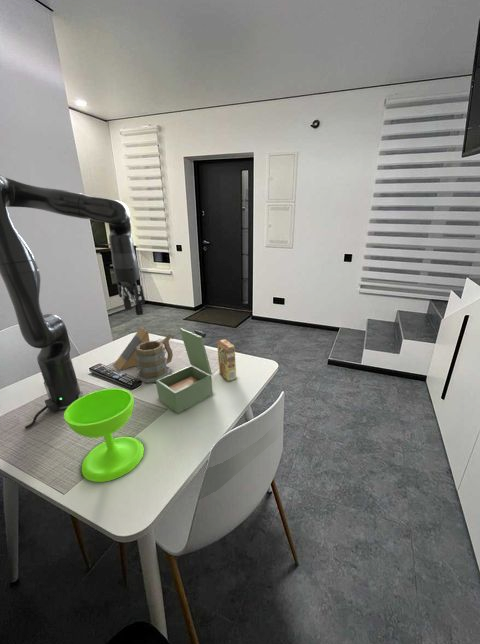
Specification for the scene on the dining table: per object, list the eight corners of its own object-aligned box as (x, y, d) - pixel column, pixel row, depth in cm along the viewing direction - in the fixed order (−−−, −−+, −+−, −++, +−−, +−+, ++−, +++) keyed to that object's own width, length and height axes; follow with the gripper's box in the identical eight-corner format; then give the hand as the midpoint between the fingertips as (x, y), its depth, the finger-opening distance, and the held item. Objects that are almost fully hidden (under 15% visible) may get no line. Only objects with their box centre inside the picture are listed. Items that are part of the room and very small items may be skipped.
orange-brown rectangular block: (178, 404, 103) (176, 392, 101) (169, 398, 106) (168, 386, 104) (200, 392, 110) (199, 381, 108) (192, 387, 113) (191, 376, 111)
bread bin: (177, 413, 99) (174, 393, 96) (158, 399, 107) (155, 380, 104) (212, 394, 110) (211, 375, 107) (193, 382, 118) (191, 365, 115)
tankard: (151, 385, 116) (146, 352, 110) (132, 377, 122) (125, 345, 116) (187, 365, 131) (184, 335, 126) (168, 359, 138) (164, 330, 132)
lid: (200, 337, 98) (211, 331, 101) (179, 328, 106) (190, 323, 109) (210, 375, 106) (220, 368, 110) (190, 364, 114) (200, 358, 117)
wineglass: (115, 432, 90) (103, 383, 84) (156, 446, 85) (146, 395, 78) (67, 471, 77) (48, 416, 70) (112, 490, 71) (96, 432, 65)
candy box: (236, 378, 121) (235, 345, 115) (227, 381, 119) (226, 348, 113) (227, 370, 128) (225, 338, 122) (218, 372, 125) (216, 340, 120)
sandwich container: (113, 364, 133) (106, 334, 128) (146, 354, 143) (141, 326, 137) (119, 370, 127) (112, 339, 122) (152, 360, 137) (148, 331, 131)
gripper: (105, 265, 97) (114, 310, 103) (124, 269, 88) (133, 319, 94) (127, 262, 102) (134, 306, 108) (146, 266, 94) (154, 313, 100)
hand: (134, 312), depth 101 cm, fingers open, 8 cm apart
